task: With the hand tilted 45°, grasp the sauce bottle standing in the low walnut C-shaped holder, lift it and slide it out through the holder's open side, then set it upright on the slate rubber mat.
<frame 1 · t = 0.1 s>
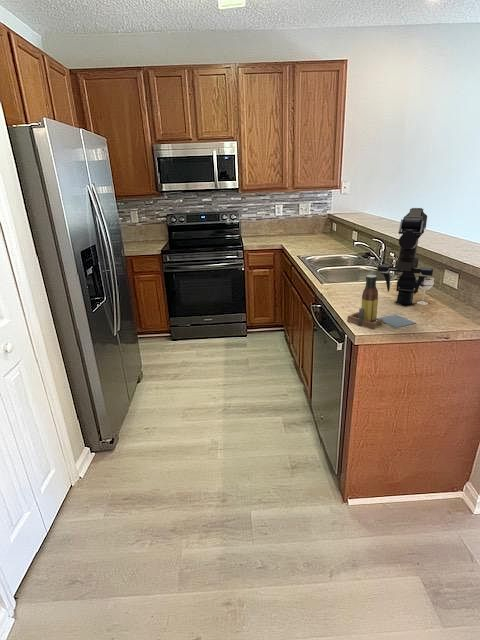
hand: (401, 293, 139), 15 cm above the countertop, tool pointing down, fingers open, 9 cm apart
slate mat: (395, 321, 153), on the countertop
wineglass: (422, 303, 173), on the countertop
sauce bottle: (367, 322, 154), on the countertop
c holder: (367, 321, 154), on the countertop
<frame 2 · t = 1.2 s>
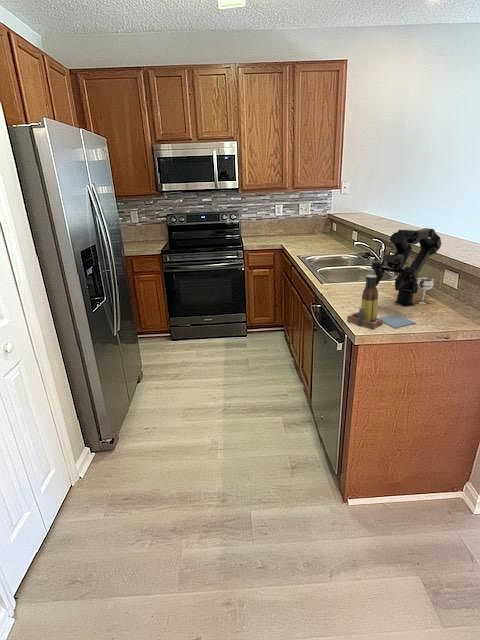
hand: (385, 287, 156), 12 cm above the countertop, tool tilted 40°, fingers open, 9 cm apart
wineglass: (422, 304, 173), on the countertop, touching arm
everything else where it was.
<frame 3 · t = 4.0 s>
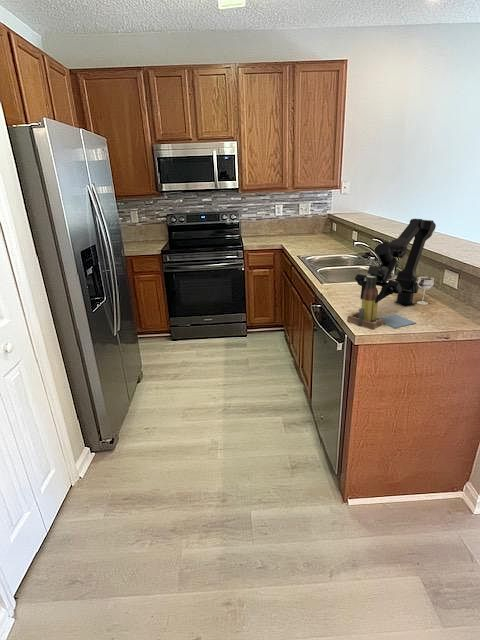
hand: (368, 300, 149), 10 cm above the countertop, tool tilted 45°, fingers closed on sauce bottle, 6 cm apart
wineglass: (422, 303, 173), on the countertop
sauce bottle: (367, 322, 154), on the countertop, touching gripper
when the fingers open (11 cm above the countertop, at t = 8.8 s): sauce bottle drops 1 cm, resting on slate mat.
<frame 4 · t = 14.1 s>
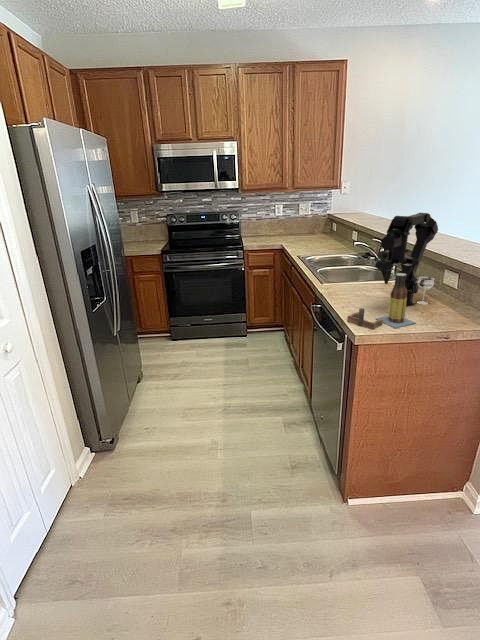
hand: (394, 282, 160), 13 cm above the countertop, tool pointing down, fingers open, 9 cm apart
sauce bottle: (395, 320, 153), resting on slate mat
everything else where it was.
at the end: sauce bottle inside the target area on the slate mat (0.2 cm from its centre), point 0.3 cm above the slate mat's base; sauce bottle tilted 0°; the gripper is holding nothing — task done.
